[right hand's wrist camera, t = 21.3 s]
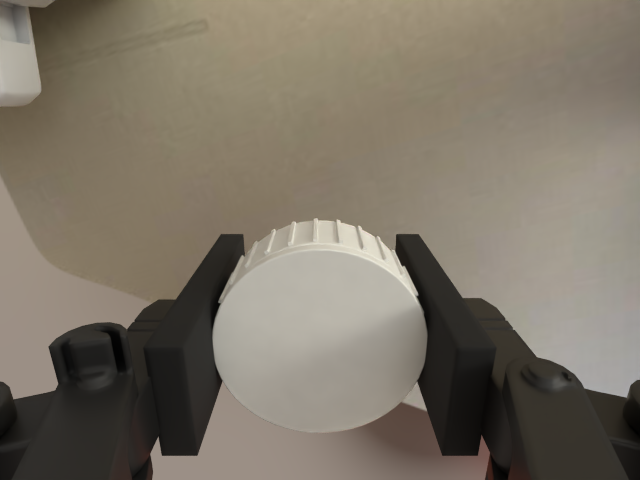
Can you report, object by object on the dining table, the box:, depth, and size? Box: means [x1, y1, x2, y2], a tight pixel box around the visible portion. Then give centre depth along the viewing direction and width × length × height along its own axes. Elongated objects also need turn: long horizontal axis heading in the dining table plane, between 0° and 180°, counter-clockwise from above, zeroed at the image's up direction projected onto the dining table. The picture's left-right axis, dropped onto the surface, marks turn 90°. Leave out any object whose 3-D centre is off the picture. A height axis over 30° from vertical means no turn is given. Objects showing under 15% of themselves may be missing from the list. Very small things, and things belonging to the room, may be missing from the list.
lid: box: [212, 218, 428, 433], centre depth 11 cm, size 5×5×2 cm
